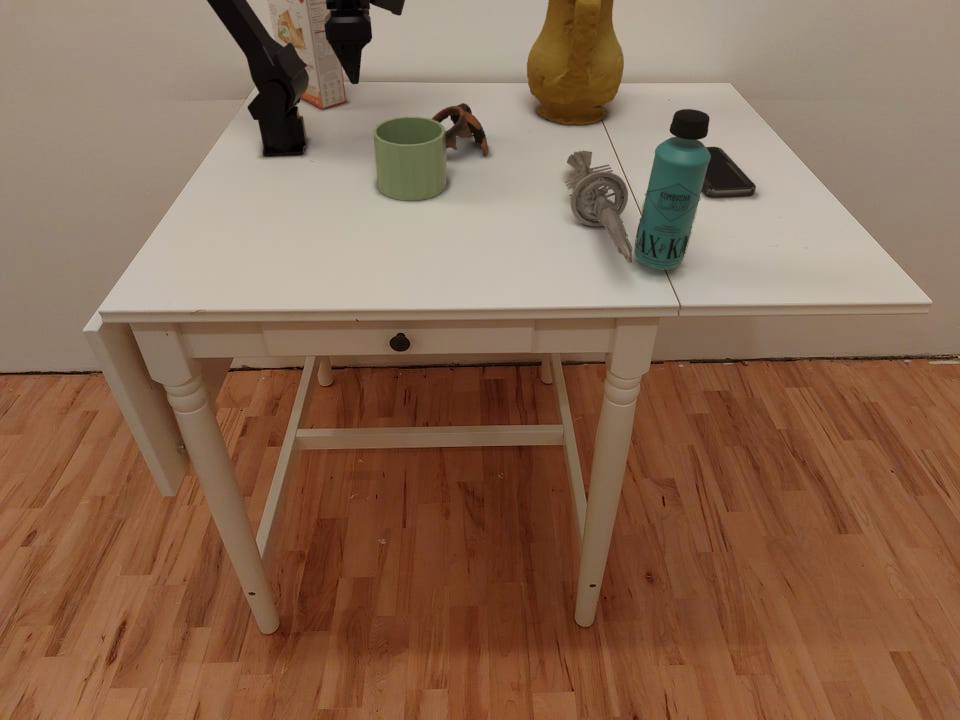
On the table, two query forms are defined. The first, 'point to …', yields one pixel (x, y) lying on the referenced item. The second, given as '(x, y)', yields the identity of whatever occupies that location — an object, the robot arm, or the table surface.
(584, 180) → the spaceship
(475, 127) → the gnarled wooden root
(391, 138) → the green round container
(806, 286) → the table surface
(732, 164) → the phone
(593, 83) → the pitcher
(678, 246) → the beverage bottle
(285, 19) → the cracker box
